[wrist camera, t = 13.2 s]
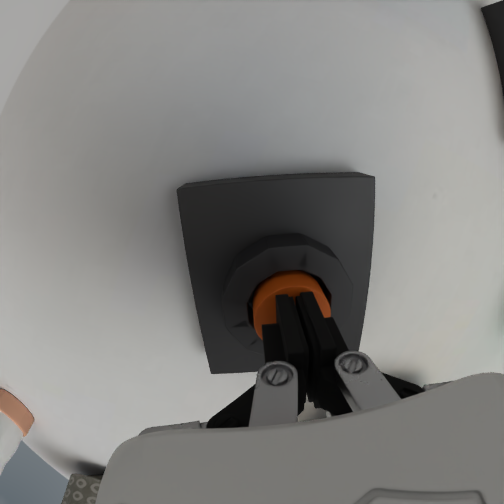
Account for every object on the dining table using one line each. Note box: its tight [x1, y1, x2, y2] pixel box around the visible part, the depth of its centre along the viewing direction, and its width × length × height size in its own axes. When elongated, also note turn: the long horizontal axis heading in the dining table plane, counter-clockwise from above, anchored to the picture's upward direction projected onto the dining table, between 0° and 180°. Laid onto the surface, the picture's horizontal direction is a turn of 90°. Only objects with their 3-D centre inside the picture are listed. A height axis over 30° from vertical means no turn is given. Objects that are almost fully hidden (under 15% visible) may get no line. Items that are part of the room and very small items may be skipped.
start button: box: [253, 270, 331, 340], centre depth 13 cm, size 4×4×2 cm
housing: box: [177, 172, 375, 374], centre depth 15 cm, size 12×10×4 cm
